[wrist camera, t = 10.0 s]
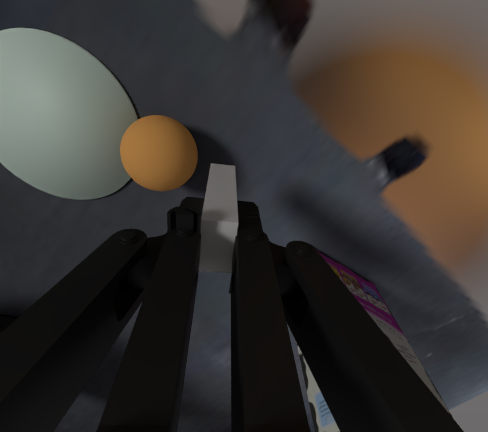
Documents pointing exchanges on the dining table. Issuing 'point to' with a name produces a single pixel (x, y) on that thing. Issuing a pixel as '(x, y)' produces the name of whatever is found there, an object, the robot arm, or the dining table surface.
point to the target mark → (60, 116)
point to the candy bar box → (384, 319)
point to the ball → (158, 153)
